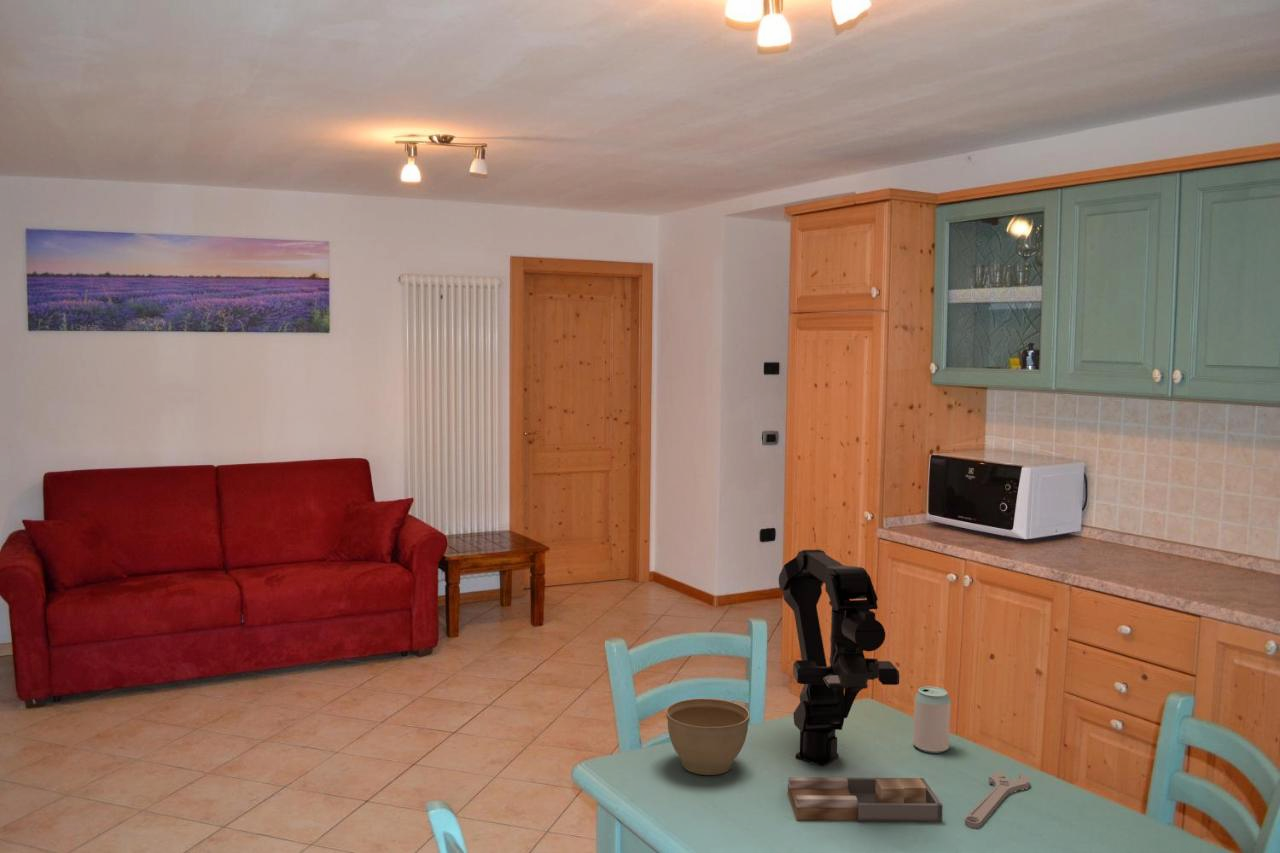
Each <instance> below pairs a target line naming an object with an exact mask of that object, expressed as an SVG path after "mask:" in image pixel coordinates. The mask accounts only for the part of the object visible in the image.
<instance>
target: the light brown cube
mask: <svg viewBox="0 0 1280 853" xmlns="http://www.w3.org/2000/svg"><path fill="white" fill-rule="evenodd" d="M896 778H897V779H898V780H899V781H900V783H901V785H902V786H903V788H904V803H926V787H925V785H924V784H923V782H922V781H921V780H920V778H921V777H896Z"/></svg>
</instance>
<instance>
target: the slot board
mask: <svg viewBox="0 0 1280 853" xmlns="http://www.w3.org/2000/svg"><path fill="white" fill-rule="evenodd" d="M847 778H848V777H846V776H845V777H841V776H839V777H838V776H833V777H832V776H826V777H825V776H788V783H787V796H788V797H787V798H788V800H789V802H790V805H791V807H792V810H793V813H794V816H795V819H796V821H857V822H858V808H857V801H858V800H857V798H856V796H851V794H850V793H849V791H848V780H847Z"/></svg>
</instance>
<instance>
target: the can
mask: <svg viewBox="0 0 1280 853" xmlns="http://www.w3.org/2000/svg"><path fill="white" fill-rule="evenodd" d="M917 690H918V691H917V693H916V694H915V695H914V696H915V697H914V705H913V706H914V708H913V709H914V710H913V712H914V713H913V736H912V737H913V740H912V744H913V746H915V748H917V749H918V750H920V751H921V752H924V753H929V754H942V753H944V752H945V751H947V750H948V749H949V748H950V732H951V731H950V728H951V704H952V701H951V699H950V697H949V696H948V694H949V693H948V691H947V690H946V689H944V688H941V687H937V686H921V687H919V688H918V689H917Z"/></svg>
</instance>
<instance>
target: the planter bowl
mask: <svg viewBox="0 0 1280 853" xmlns="http://www.w3.org/2000/svg"><path fill="white" fill-rule="evenodd" d="M665 714H666V715H665V716H666V719H667V730H668V734H669V739H670V742H671V744H672V747H673V749H674V751H675V753H676V755H678V757H679V758H680V760H681V765H682V767H683V768H684V769H685V770H686V771H688V772H690V773H692V774H696V775H702V776H703V775H704V776H716V775H721V774H725V773H727V772H728V771H730V769H732V764H733V762H734V761H735V759H737V757H738V756H739V754H740V752H741V751H742V749H743V746H744V744H745V743H746V738H747V735H748V727H749V723H750V722H749V721H750V715H751V714H750V712H749V710H748V709H747V708H746V707H745V706H743V705H742V704H740V703H736V702H733V701H730V700H725V699H724V700H723V699H718V698H717V699H716V698H689V699H683V700H680V701H677V702H674V703H672V704H670V705H669V706H668V707H667V708H666V712H665Z"/></svg>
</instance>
